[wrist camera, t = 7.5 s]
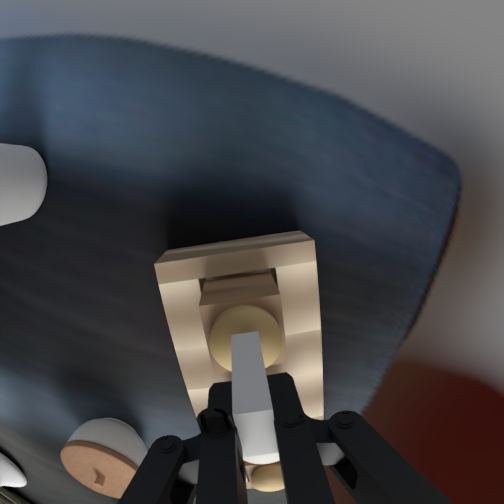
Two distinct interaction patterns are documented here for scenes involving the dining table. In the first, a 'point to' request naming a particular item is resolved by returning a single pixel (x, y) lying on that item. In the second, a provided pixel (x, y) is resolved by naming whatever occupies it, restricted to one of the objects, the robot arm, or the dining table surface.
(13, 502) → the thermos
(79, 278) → the dining table surface
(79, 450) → the lidded jar
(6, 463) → the flower in vase
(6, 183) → the milk bottle
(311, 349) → the button mount
